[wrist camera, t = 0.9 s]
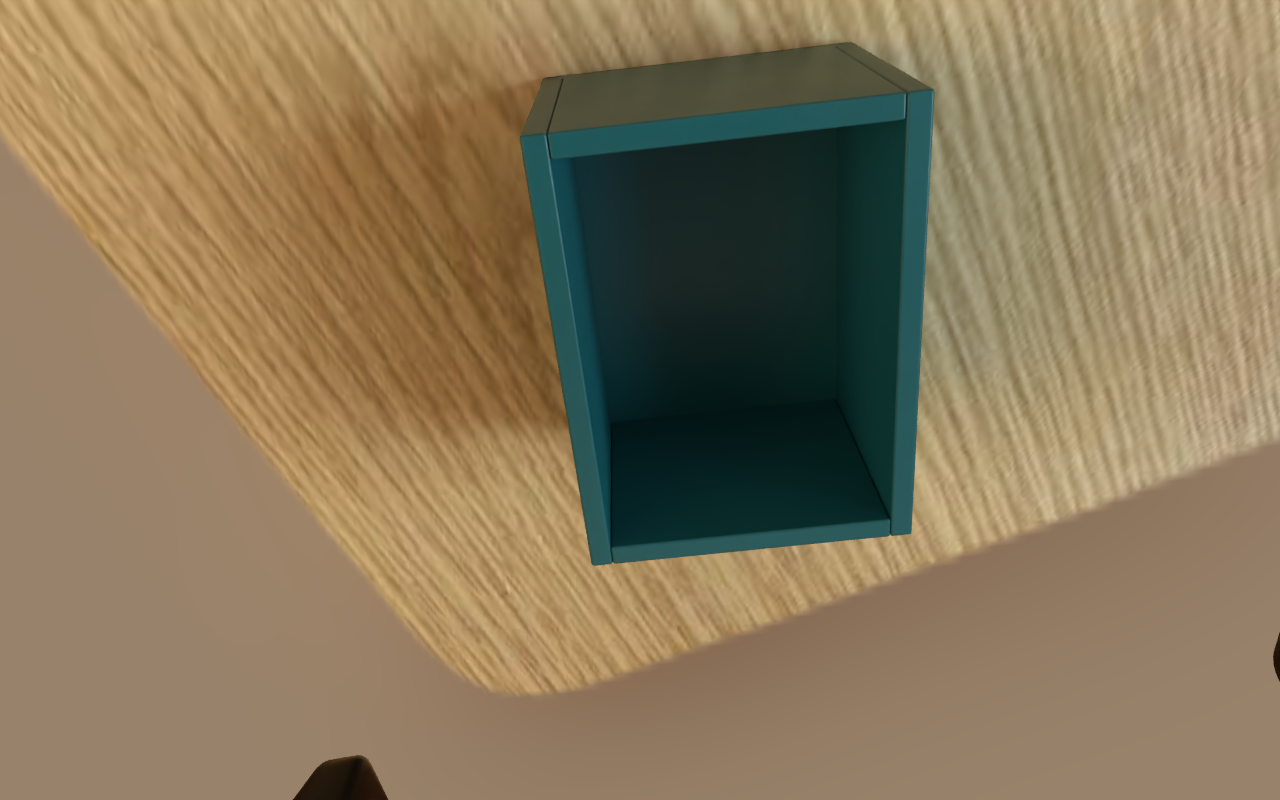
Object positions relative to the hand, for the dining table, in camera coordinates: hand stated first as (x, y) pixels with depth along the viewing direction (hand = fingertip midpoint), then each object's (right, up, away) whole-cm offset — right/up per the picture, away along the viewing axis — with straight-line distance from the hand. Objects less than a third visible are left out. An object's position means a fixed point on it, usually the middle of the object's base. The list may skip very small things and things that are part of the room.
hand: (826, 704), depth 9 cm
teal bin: (0, +6, +10) cm, 12 cm away
